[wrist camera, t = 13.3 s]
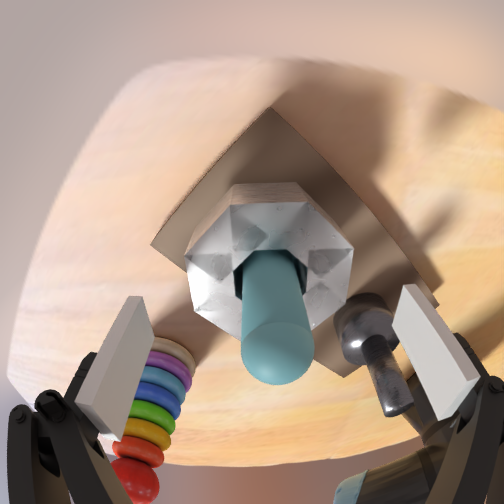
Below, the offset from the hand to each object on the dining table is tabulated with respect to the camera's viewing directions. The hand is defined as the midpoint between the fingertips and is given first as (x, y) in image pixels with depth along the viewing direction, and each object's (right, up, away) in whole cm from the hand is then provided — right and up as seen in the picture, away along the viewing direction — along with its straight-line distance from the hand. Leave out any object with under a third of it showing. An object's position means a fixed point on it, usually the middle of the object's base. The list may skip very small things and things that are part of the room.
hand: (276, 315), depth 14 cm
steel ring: (0, +3, +6) cm, 7 cm away
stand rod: (+9, -3, +12) cm, 16 cm away
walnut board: (+5, +1, +12) cm, 13 cm away
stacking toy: (-12, -9, +18) cm, 23 cm away
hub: (0, +5, +8) cm, 10 cm away
